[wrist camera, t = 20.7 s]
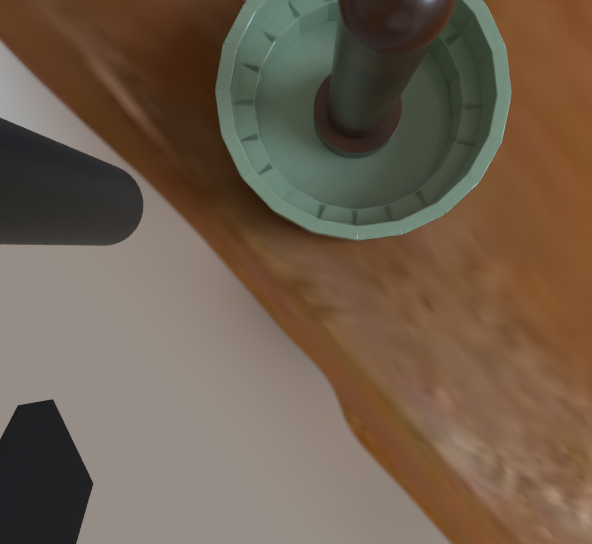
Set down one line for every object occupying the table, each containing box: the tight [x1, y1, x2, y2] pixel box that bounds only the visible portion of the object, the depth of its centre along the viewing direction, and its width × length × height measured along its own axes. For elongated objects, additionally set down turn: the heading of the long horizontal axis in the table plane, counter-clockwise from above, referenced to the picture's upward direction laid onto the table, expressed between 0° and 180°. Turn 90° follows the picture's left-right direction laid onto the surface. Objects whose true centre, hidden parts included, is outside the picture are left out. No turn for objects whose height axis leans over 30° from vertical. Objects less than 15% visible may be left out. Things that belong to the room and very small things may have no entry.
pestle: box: [314, 0, 455, 158], centre depth 24 cm, size 5×5×18 cm
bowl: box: [215, 0, 511, 242], centre depth 30 cm, size 16×16×6 cm
